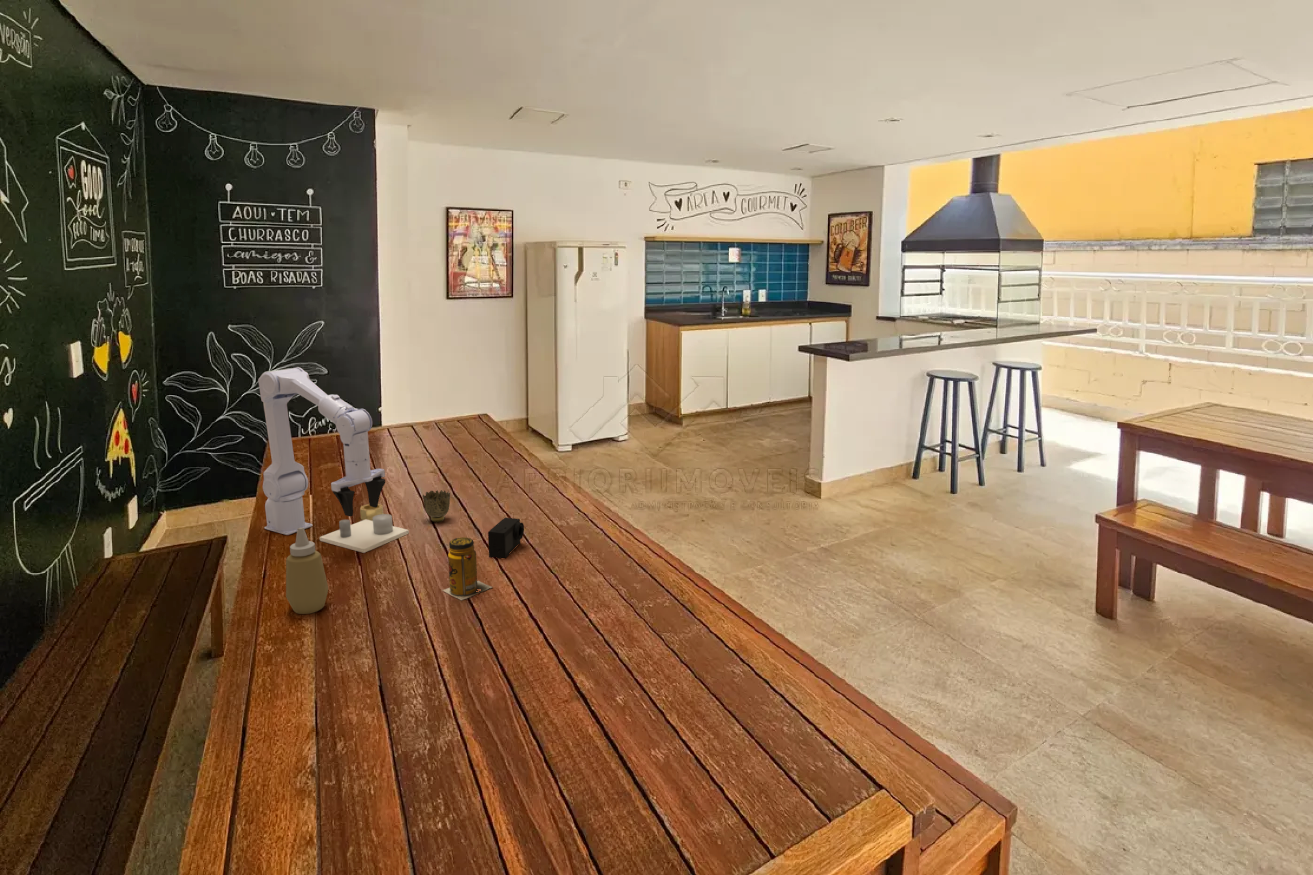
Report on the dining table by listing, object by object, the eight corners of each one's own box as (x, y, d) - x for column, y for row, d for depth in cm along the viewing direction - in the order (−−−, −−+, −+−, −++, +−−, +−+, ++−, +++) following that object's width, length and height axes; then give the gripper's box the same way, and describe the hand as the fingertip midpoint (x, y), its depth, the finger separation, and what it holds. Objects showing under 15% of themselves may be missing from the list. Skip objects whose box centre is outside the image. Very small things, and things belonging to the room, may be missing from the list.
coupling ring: (356, 518, 202) (355, 508, 202) (373, 512, 207) (372, 502, 207) (371, 522, 200) (370, 511, 199) (387, 515, 205) (386, 505, 204)
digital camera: (509, 559, 178) (508, 533, 176) (488, 557, 179) (487, 531, 177) (524, 544, 187) (524, 518, 186) (505, 542, 188) (504, 517, 187)
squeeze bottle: (316, 595, 157) (308, 518, 152) (337, 606, 152) (330, 527, 148) (280, 610, 150) (270, 529, 146) (301, 621, 146) (292, 539, 141)
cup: (443, 526, 198) (442, 499, 196) (419, 524, 199) (417, 496, 197) (456, 517, 205) (454, 490, 203) (432, 515, 206) (430, 488, 204)
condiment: (441, 590, 160) (439, 541, 157) (473, 578, 167) (471, 530, 164) (461, 601, 156) (458, 550, 153) (492, 588, 162) (491, 539, 159)
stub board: (319, 540, 186) (318, 522, 185) (366, 522, 199) (364, 505, 198) (363, 552, 179) (362, 534, 178) (408, 533, 192) (407, 515, 191)
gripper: (343, 468, 168) (348, 522, 172) (391, 454, 181) (395, 505, 184) (323, 464, 172) (328, 517, 175) (372, 450, 184) (376, 500, 187)
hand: (361, 510), depth 180 cm, fingers open, 7 cm apart
